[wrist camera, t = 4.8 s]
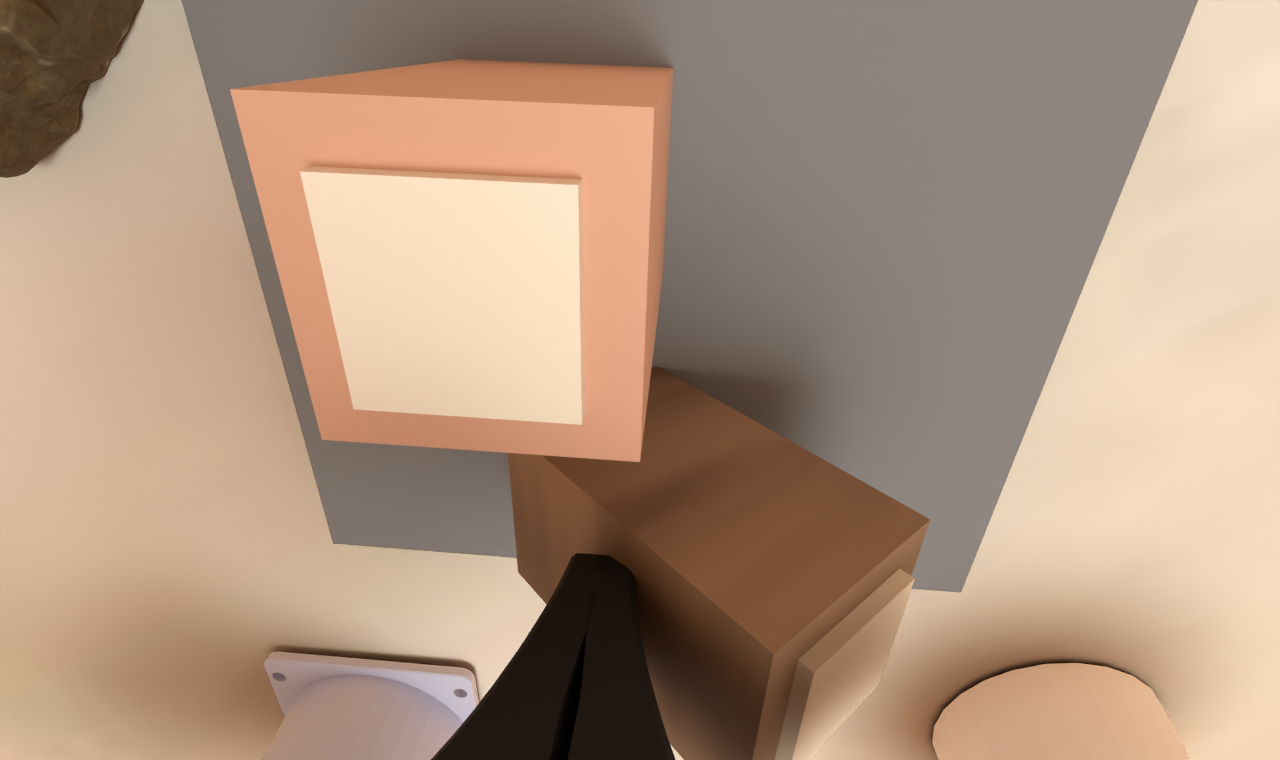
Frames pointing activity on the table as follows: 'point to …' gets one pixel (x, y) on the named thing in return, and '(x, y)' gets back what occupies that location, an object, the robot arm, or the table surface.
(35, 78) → the stone slab
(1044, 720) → the cup
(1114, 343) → the table surface
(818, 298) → the rubber mat
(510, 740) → the robot arm
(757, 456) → the walnut block
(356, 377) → the terracotta block
